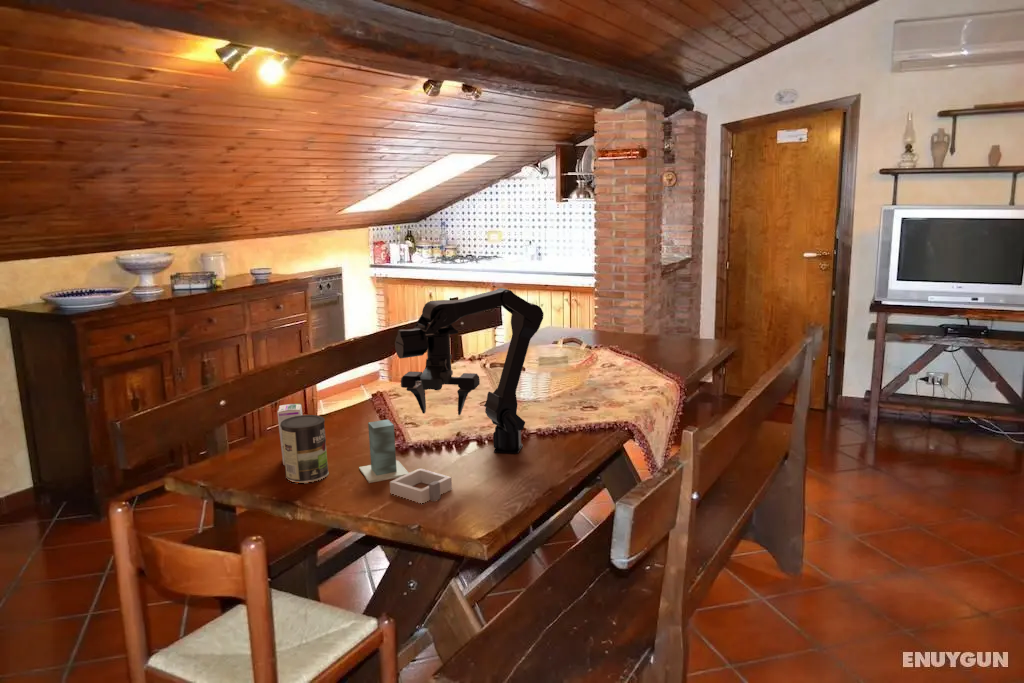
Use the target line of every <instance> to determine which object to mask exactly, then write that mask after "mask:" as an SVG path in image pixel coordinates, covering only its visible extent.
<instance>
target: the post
mask: <svg viewBox="0 0 1024 683" xmlns="http://www.w3.org/2000/svg"><path fill="white" fill-rule="evenodd" d="M367 424H368V425H367V427H368V438H369V439H368V440H369V443H368V444H369V454H370V455H369V457H370V465H371V469H372V470H373V471H374V473H375V474H376V475H382V474H387V473H393V472H397V469H396V460H397V456H396V454H397V453H396V440H395V439H396V438H395V425H394V424H393V423H392V421H390V420H389V419H382V420H375V421H370V422H368V423H367Z"/></svg>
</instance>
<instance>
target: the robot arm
mask: <svg viewBox="0 0 1024 683" xmlns="http://www.w3.org/2000/svg"><path fill="white" fill-rule="evenodd" d="M500 307H502V308H504V309H505V310H506V311H507V312H509V313H510V314H511V315H510V316H511V317H510V328H511V339H510V342H509V345H508V349H507V353H506V356H505V360H504V363H503V368H502V370H501V376H500V378H499V382H498V386H497V388H496V389H495V390H494V391H493V392H491V391H488V393H487V396H486V401H485V403H484V405H483V407H485V408H484V409H485V410H484V412H485V414H486V417H488V419H490V420H491V422H492V424H493V425H495V428H494V431H493V433H492V434H493V435H492V439H493V448H494V449H493V450H494V452H493V453H498V454H499V453H503V454H519V452H520V451H521V449H522V448H523V446H524V444H523V443H522V430H524V428H525V424H526V421H525V420H524V419H522V418H521V417H520V416H519V415H518V414H517V412H518V399H517V389H518V385H519V381H520V379H521V374H522V371H523V368H524V364H525V360H526V356H527V353H528V350H529V345H530V342H531V339H532V338H533V337H534V336H535V334H537V333H538V331H539V329H540V328H541V324H542V322H543V319H544V311H543V310H542V308H541V306H539V305H538V304H535V303H531V302H528V301H527V300H525V299H523V298H521V297H520V296H519V295H517V294H516V293H514V292H513V291H512V290H510V289H508V288H503V287H499V288H497V289H495V290H490V291H487V292H486V291H485V292H483V293H480V294H476V295H475V294H474V295H471V296H467V297H463V298H459V299H451V300H450V299H440V300H430V301H428V302H426V303H425V304H424V306H423V308H422V311H421V315H420V316H419V317H418V318H419V319H418V320H417V322H416V323H415V324H414V328H409V329H398V330H397V335H396V337H395V341H394V348H395V349H394V350H395V353H396V355H397V357H398V359H407V358H414V357H415V358H416V357H420V356H421V357H422V356H424V355H425V353H426V356H427V358H425V368H424V369H423V371H410V370H409V371H408V372H407V373H405V374H403V375H402V377H401V378H400V387H401V388H403V389H406V391H407V392H410V393H412V394H413V395H414V397H415V399H416V401H417V403H418V405H419V408H420V410H421V413H422V414H426V412H427V411H426V410H427V403H426V401H427V399H426V391H428V390H432V391H440V390H441V389H442V388H443V385H449V386H450V385H453V386H454V385H455V386H457V387H458V388H459V389H458V390H457V397H458V399H457V414H458V416H461V414H462V412H463V409H464V406H465V402H466V400H467V397H468V395H469V393H471V392H472V391H474V390H476V389H477V388H478V386H479V385H480V384H481V383H480V375H478V373H471V372H469V373H468V372H464V373H462V374H461V375H460V376H453V375H454V372H453V371H454V370H452V359H453V354H451V353H452V350H451V335H456V334H458V333H459V331H458V329H456V328H455V327H454V326H453V325H452V324H454V323H456V322H457V321H459V320H460V319H461V318H463V317H465V316H469V315H473V314H477V313H480V312H484V311H488V310H489V311H490V310H492V309H496V308H500Z"/></svg>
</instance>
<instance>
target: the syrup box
mask: <svg viewBox="0 0 1024 683" xmlns="http://www.w3.org/2000/svg"><path fill="white" fill-rule="evenodd" d="M302 408H303V405H302V403H288V404H282V405H281V404H280V405H279V406H278V409H277V421H278V432H279V440H280V450H281V457H282V464H283V466H285V459H284V449H283V439H282V428H281V422H282V421H283V420H285V419H288V418H291V417H294V416H301V415H303V409H302Z"/></svg>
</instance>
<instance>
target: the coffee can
mask: <svg viewBox="0 0 1024 683" xmlns="http://www.w3.org/2000/svg"><path fill="white" fill-rule="evenodd" d="M325 422H326V421H325V418H324V417H323V416H321V415H317V414H316V415H315V414H302V415H301V416H294V417H291V418H288V419H285V420H283V421H282V422H281V428H282V439H283V449H284V459H285V465H284V467H285V479H286V478H287V479H288V480H290V481H292V482H299V483H304V484H309V483H308V482H312V483H315V482H314V481H317V482H319V481H322V480H324V479H326V478H327V477H328V476H329V474H330V473H329V464H328V452H327V444H326V443H327V442H326V441H327V439H326V430H325V429H326V428H325V427H326V426H325V425H326V424H325ZM325 477H326V478H325ZM323 478H324V479H323ZM321 479H322V480H321ZM318 480H319V481H318Z"/></svg>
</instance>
